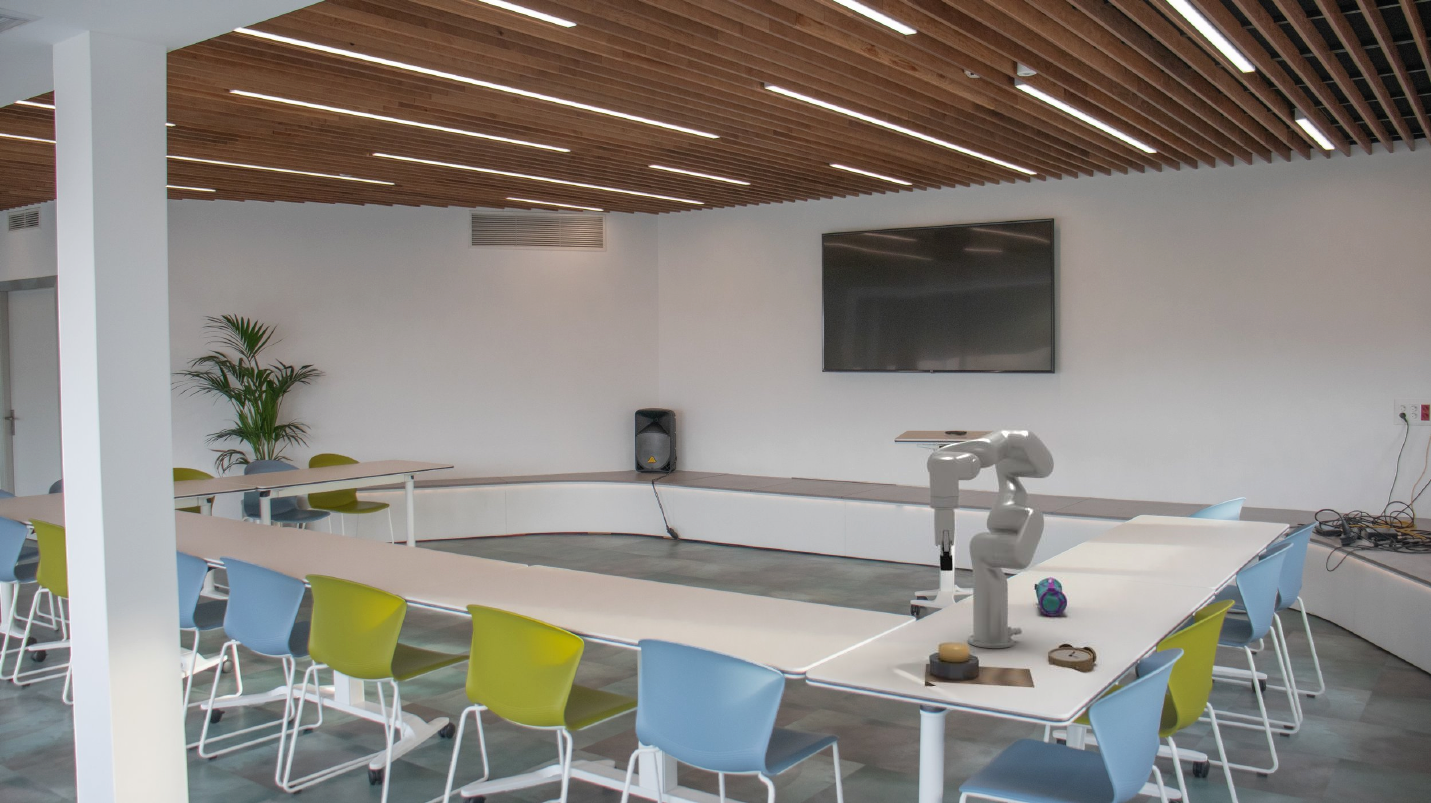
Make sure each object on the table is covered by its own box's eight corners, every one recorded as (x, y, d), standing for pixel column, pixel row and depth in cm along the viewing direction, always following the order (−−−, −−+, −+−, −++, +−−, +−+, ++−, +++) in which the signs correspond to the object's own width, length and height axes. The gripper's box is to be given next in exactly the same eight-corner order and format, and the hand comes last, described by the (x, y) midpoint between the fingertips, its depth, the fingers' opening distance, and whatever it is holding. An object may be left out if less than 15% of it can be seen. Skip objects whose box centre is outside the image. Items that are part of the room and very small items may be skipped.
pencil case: (1034, 603, 350) (1034, 574, 350) (1062, 604, 348) (1062, 575, 347) (1038, 617, 330) (1038, 587, 329) (1068, 618, 327) (1068, 588, 327)
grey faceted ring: (959, 664, 271) (959, 649, 271) (988, 677, 260) (988, 661, 260) (920, 670, 267) (920, 654, 266) (947, 682, 255) (947, 666, 255)
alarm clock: (1041, 657, 272) (1060, 636, 284) (1042, 675, 273) (1061, 653, 285) (1085, 664, 265) (1102, 641, 277) (1086, 682, 266) (1103, 659, 278)
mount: (1029, 673, 267) (1029, 668, 267) (1034, 692, 251) (1034, 687, 251) (926, 668, 273) (926, 663, 273) (924, 685, 257) (924, 681, 257)
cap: (957, 668, 268) (957, 641, 268) (975, 675, 261) (975, 648, 261) (932, 671, 265) (932, 644, 265) (950, 679, 258) (949, 651, 258)
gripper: (929, 497, 285) (931, 564, 286) (930, 506, 271) (932, 576, 272) (957, 497, 284) (959, 564, 285) (960, 506, 269) (962, 576, 270)
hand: (946, 569), depth 278 cm, fingers closed
